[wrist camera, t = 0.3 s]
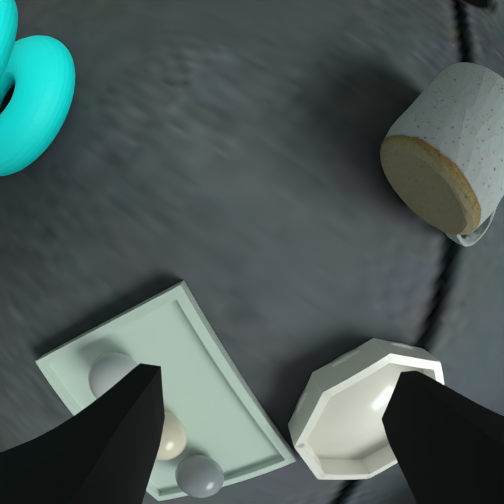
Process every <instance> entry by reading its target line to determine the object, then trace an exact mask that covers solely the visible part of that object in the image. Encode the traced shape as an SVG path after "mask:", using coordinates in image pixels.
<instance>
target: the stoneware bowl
mask: <svg viewBox="0 0 504 504" xmlns="http://www.w3.org/2000/svg"><path fill="white" fill-rule="evenodd" d="M415 370H416V371H418V372H421V373H423V374H425V375H427V376H429V377H431V378H432V379H434V380H436V381H438V382H440V383H441V384H443V385H444V379H443V373H442V368H441V363H440V361H438V360H437V359H436V358H434V357H433V356H432V355H430V354H429V353H428V352H426V351H425V350H424V349H422V348H419V347H414V346H409V345H407V344H404V343H401V342H395V341H385V340H381V339H376V338H372V339H371V340H369V341H367V342H366V343H364V344H362V345H361V346H359V347H357V348H355V349H352V350H350V351H348V352H346V353H344V354H343V355H341V356H339V357H338V358H336V359H335V360H333V361H332V362H331V363H329V364H327V365H325V366H323V367H321V368H320V369H318V370H316V371H314V372H312V374H311V377H310V379H309V381H308V383H307V386H306V388H305V389H304V391H303V392H302V394H301V396H300V398H299V400H298V402H297V405H296V407H295V411H294V413H293V415H292V417H291V419H290V421H289V423H288V427H289V431H290V435H291V438H292V442H293V445H294V447H295V449H296V450H297V452H298V453H299V454H300V456H301V457H302V458H303V460H304V461H305V463H306V464H307V465H308V467H309V468H310V469H311V471H312V472H313V473H314V475H315V476H316V477H317V479H333V480H342V479H369V478H371V477H373V476H375V475H376V474H378V473H380V472H382V471H384V470H385V469H387V468H389V467H391V466H392V465H394V464H396V463H398V462H397V459H396V457H395V455H394V453H393V451H392V449H391V447H390V445H389V442H388V439H387V436H386V433H385V429H384V426H383V422H382V417H383V414H384V412H385V410H386V408H387V405H388V403H389V401H390V398H391V396H392V393H393V391H394V388H395V386H396V383H397V381H398V378H399V376H400V373H401V372H405V371H415Z"/></svg>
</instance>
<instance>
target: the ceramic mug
mask: <svg viewBox="0 0 504 504" xmlns="http://www.w3.org/2000/svg"><path fill="white" fill-rule="evenodd" d="M380 160H381V164H382V168H383V171H384V173H385V176H386V178H387V180H388V181H389V183H390V184H391V186H392V188H393V189H394V190H395V192H396V193H397V194H398V195H399V197H400V198H401V199H402V200H403V201H404V202H405V203H406V205H407V206H408V207H409V208H410V209H411V210H412V211H413V212H415V213H416V214H417V215H418V216H419V217H420V218H422V219H423V220H424V221H426V222H427V223H428V224H430V225H431V226H433V227H435V228H437V229H439V230H441V231H443V232H445V234H446V235H447V236H448V237H449V238H450V239H452V240H453V241H455V242H456V243H458V244H460V245H463V246H471V245H473V244H474V243H476V242H477V241H478V240H479V239H480V238H481V237H482V236H483V234H484V233H485V232H486V230H487V229H488V227H489V225H490V223H491V221H492V219H493V216H494V214H495V211H496V208H497V205H498V203H499V202H500V200H501V198H502V197H503V195H504V79H503V78H502V77H501V76H499V75H498V74H497V73H495V72H493V71H492V70H490V69H488V68H486V67H483V66H480V65H477V64H473V63H455V64H452V65H450V66H448V67H446V68H444V69H443V70H442V71H441V72H440V73H439V74H438V75H437V77H436V78H435V79H434V80H433V81H432V82H431V83H430V85H429V86H428V87H427V88H426V89H425V90H424V91H423V92H422V93H421V94H420V95H419V96H418V98H417V99H416V100H415V101H414V102H413V104H412V105H411V106H410V107H409V108H408V109H407V110H406V111H405V112H404V113H403V114H402V115H401V116H400V117H399V118H398V119H397V120H396V121H395V123H394V124H393V125H392V126H391V128H390V130H389V131H388V133H387V135H386V136H385V138H384V140H383V142H382V144H381V148H380Z"/></svg>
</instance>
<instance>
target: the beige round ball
mask: <svg viewBox="0 0 504 504" xmlns="http://www.w3.org/2000/svg"><path fill="white" fill-rule="evenodd" d="M164 412H165V420H164V426H163V431H162V437H161V442H160V447H159V450H158V453H157V456H156V460H170V459H173V458H175V457H177V456H178V455H179V454H180V453H181V452H182V451H183V450H184V448H185V446H186V442H187V433H186V430H185V427H184V425H183V424H182V422H181V421H180V420H179V419H178V418H177V417H176V416H174V415H173V414H171V413H169V412H166V411H164Z"/></svg>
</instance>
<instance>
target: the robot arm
mask: <svg viewBox="0 0 504 504" xmlns="http://www.w3.org/2000/svg"><path fill="white" fill-rule="evenodd" d="M164 420H165V412H164V401H163V389H162V374H161V366H156V365H149V364H143V363H140V364H139V365H137V366H136V367H135V368H134V369H132V370H131V371H130V372H129V373H128V374H127V375H125V376H124V377H123V378H122V379H121V380H120V381H118V382H117V383H116V384H115V385H114V386H113V387H111V388H110V389H109V390H108V391H106V392H105V393H104V394H103V395H101V396H100V397H99V398H98V399H96V400H95V401H94V402H93V403H91V404H90V405H89V406H87V407H86V408H84V409H83V410H82V411H80V412H79V413H77V414H76V415H74V416H73V417H72V418H70V419H69V420H67V421H66V422H64V423H62V424H61V425H59V426H58V427H56V428H54V429H52V430H50V431H49V432H47V433H45V434H43V435H41V436H39V437H37V438H35V439H33V440H31V441H28V442H26V443H24V444H21V445H19V446H16V447H14V448H11V449H9V450H6V451H3V452H1V453H0V504H142V501H143V498H144V495H145V491H146V488H147V485H148V482H149V479H150V475H151V472H152V469H153V466H154V463H155V460H156V456H157V453H158V450H159V447H160V442H161V437H162V431H163V426H164ZM382 422H383V426H384V429H385V433H386V436H387V439H388V442H389V445H390V447H391V449H392V451H393V453H394V455H395V457H396V459H397V462H398V464H399V466H400V468H401V470H402V472H403V474H404V476H405V478H406V480H407V482H408V484H409V486H410V488H411V490H412V493H413V495H414V498H415V500H416V503H417V504H504V416H502V415H499V414H497V413H495V412H493V411H491V410H489V409H487V408H485V407H483V406H481V405H479V404H477V403H475V402H473V401H471V400H470V399H468V398H466V397H464V396H462V395H461V394H459V393H457V392H455V391H454V390H452V389H450V388H448V387H447V386H445V385H443V384H441V383H440V382H438V381H436V380H434V379H432V378H431V377H429V376H427V375H425V374H423V373H421V372H418V371H416V370H415V371H405V372H401V373H400V376H399V378H398V381H397V383H396V386H395V388H394V391H393V393H392V396H391V398H390V401H389V403H388V405H387V408H386V410H385V412H384V414H383V417H382Z"/></svg>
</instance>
